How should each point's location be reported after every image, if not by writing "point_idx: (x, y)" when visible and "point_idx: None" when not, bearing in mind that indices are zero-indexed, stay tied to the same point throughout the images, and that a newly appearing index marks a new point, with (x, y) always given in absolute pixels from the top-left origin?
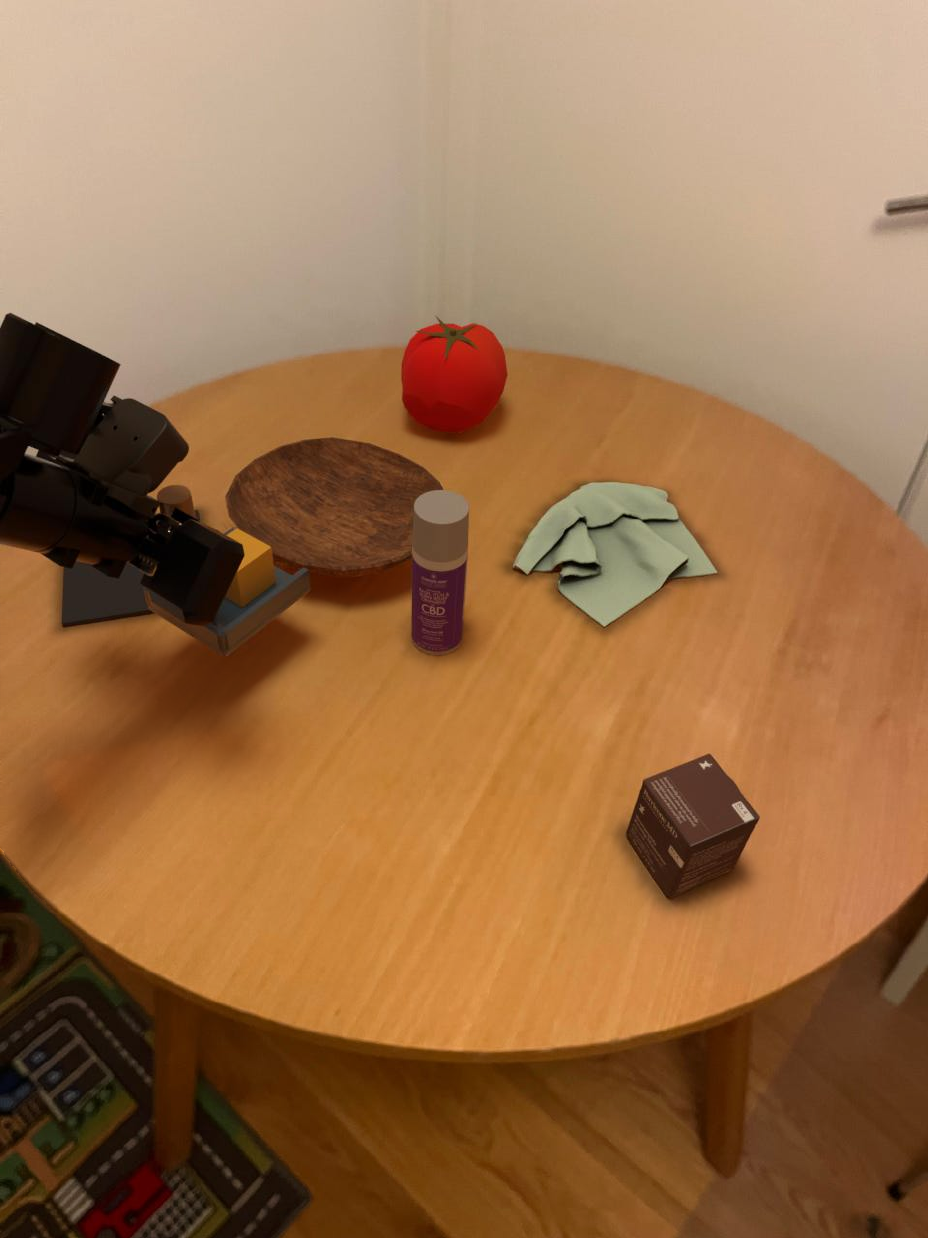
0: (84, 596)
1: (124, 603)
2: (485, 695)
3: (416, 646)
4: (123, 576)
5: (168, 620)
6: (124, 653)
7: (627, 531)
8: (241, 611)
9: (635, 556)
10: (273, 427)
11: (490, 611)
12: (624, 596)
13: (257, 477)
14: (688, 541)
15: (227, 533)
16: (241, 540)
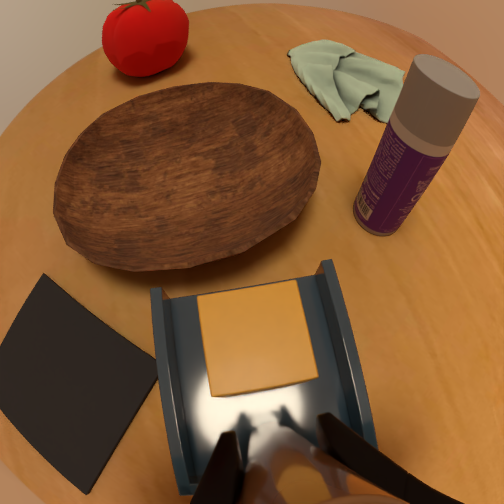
0: (64, 453)
1: (99, 435)
2: (450, 231)
3: (380, 234)
4: (63, 405)
5: None
6: (167, 483)
7: (353, 65)
8: (308, 388)
9: (373, 78)
10: (36, 157)
11: None
12: None
13: (69, 197)
14: (373, 60)
15: (156, 303)
16: (238, 313)
